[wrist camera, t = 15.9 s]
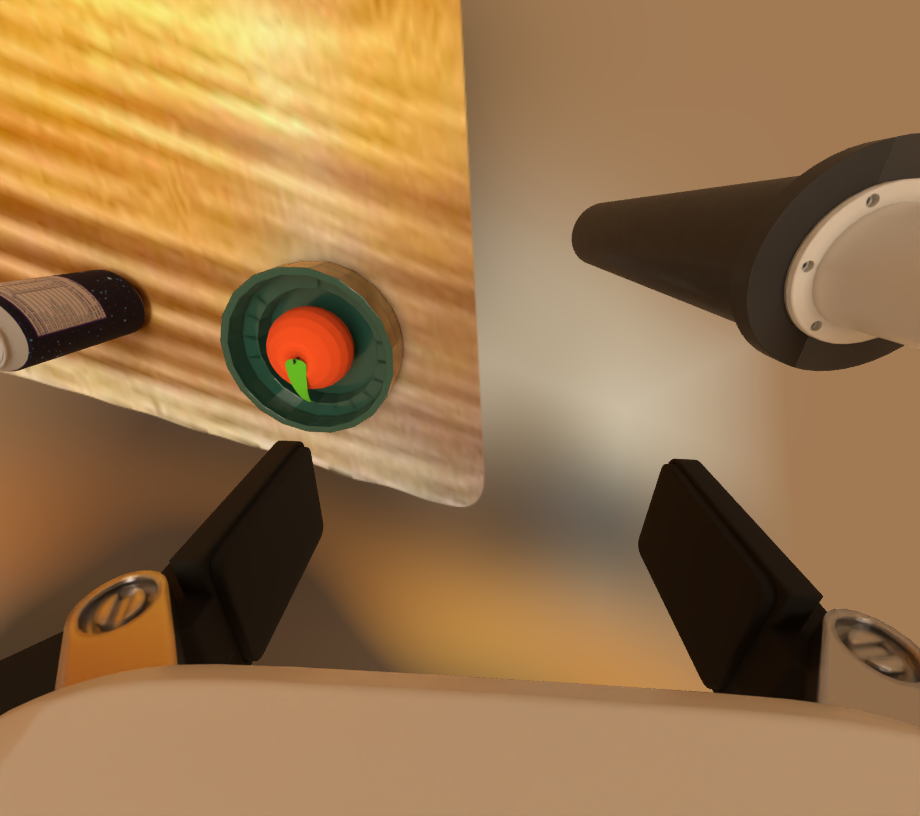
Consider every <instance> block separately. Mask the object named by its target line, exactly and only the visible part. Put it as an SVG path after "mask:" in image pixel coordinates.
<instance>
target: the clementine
mask: <svg viewBox="0 0 920 816" xmlns="http://www.w3.org/2000/svg"><path fill="white" fill-rule="evenodd" d="M266 349H267V355H268V358H269V361H270V363H271V365H272V367H273V368H274V370H275V371H276V372H277V373H278V374H279V375H280V376H281V377H282V378H283V379H284V380H286V381H287V382H289V383H290V384H292V386H293V387H294V389H295V390H296V392H297V393H298V394H299V395H300V397H301V398H302V399H304V400H306V401H308V402H315V401H311V400H310V398H309V395H308V390H307V389H319V388H325V387H328V386H331V385H333V384H334V383H336V382H337V381H339V380H340V379H341V378H343V377H344V376H345V375H346V373H347V372H348V370H349V369H350V367H351V364H352V361H353V358H354V350H355V346H354V342H353V337H352V335H351V333H350V331H349V329H348V327H347V326H346V325H345V323H344V322H343V321H342V320H341V319H340V318H339V317H337V316H336V315H335V314H333V313H332V312H330V311H328V310H325V309H323V308H320V307H315V306H303V307H296V308H293V309H291V310H288V311H286V312H285V313H283V314H282V315H281V316H280V317H279V318H278V319H276V320H275V321H274V323H273V324H272V326H271V328H270V329H269V333H268V337H267V342H266Z"/></svg>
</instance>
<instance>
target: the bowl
mask: <svg viewBox="0 0 920 816" xmlns="http://www.w3.org/2000/svg"><path fill="white" fill-rule="evenodd" d="M303 306H315V307H320V308H323V309H325V310H328V311H330V312H332V313H333V314H335V315H336V316H337V317H339V318H340V319H341V320H342V321H343V322H344V323H345V325H346V326H347V327H348V329H349V331H350V333H351V335H352V337H353V342H354V346H355V350H354V358H353V361H352V364H351V367H350V369H349V370H348V372H347V373H346V375H345V376H344V377H343V378H341V379H340V380H339V381H337V382H336V383H334V384H333V385H331V386H328V387H325V388H319V389H307V390H308V395H309V398H310V400H311V401H315V402H308V401H306V400H304V399H302V398H301V397H300V395H299V394H298V393H297V392H296V390H295V389H294V387H293V386H292V384H290V383H289V382H287V381H286V380H284V379H283V378H282V377H281V376H280V375H279V374H278V373H277V372H276V371H275V370H274V368H273V367H272V365H271V363H270V361H269V358H268V355H267V349H266V342H267V337H268V333H269V329H270V328H271V326H272V324H273V323H274V321H275V320H276V319H278V318H279V317H280V316H281V315H282V314H283V313H285V312H286V311H288V310H291V309H293V308H296V307H303ZM220 341H221V346H222V350H223V353H224V357H225V361H226V365H227V368H228V370H229V371H230V373H231V375H232V376H233V378H234V380H235V382H236V383H237V385H238V387H239V388H240V390H241V391H242V392H243V393H244V394H245V395H246V396H247V397H248V398H249V399H250V400H251V401H252V402H253V403H254V404H255V405H256V406H257V407H258V408H259V409H260V410H261V411H263V412H264V413H266V414H268V415H269V416H271V417H273V418H274V419H276V420H277V421H279V422H281V423H282V424H285V425H289V426H292V427H295V428H298V429H301V430H304V431H310V432H336V431H340V430H344V429H348V428H352V427H355V426H357V425H358V424H360V423H361V422H363V421H364V420H366V419H367V418H369V417H371V416H372V415H373V414H374V413H375V412H376V411H377V409H378V408H379V407H380V405H381V404H382V403H383V401H384V400H385V399H386V397H387V395H388V394H389V392H390V390H391V388H392V386H393V384H394V382H395V380H396V378H397V375H398V371H399V368H400V365H401V361H402V358H403V353H402V334H401V331H400V328H399V325H398V323H397V320H396V317H395V314H394V312H393V309H392V308H391V307H390V305H389V304H388V303H387V301H386V300H385V299H384V297H383V296H382V294H381V293H380V292H379V290H378V289H376V287H374V286H373V285H372V284H370V283H369V282H368V281H367V280H365V279H364V278H363V277H361V276H360V275H359V274H357V273H356V272H354V271H352V270H349V269H347V268H344V267H341V266H338V265H336V264H333V263H330V262H318V261H301V262H296V263H292V264H288V265H283V266H279V267H276V268H273V269H270V270H267V271H264V272H261V273H258V274H255V275H253V276H251V277H250V278H249V279H248V280H247V281H246V282H244V283H243V284H242V285H241V286H240V287H239V288H238V289H236V290H235V291H234V292H233V294H232V296H231V298H230V300H229V302H228V304H227V307H226V309H225V311H224V313H223V316H222V324H221V339H220Z"/></svg>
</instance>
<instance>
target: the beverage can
mask: <svg viewBox="0 0 920 816" xmlns="http://www.w3.org/2000/svg"><path fill="white" fill-rule="evenodd" d="M144 318H145V311H144V304H143V301H142V299H141V297H140V295H139V294H138V292H137V291H136V290H135V289H134V288H133V287H132V286H131V285H130V284H129V283H128V282H127V281H126V280H124V279H123V278H121V277H120V276H118V275H116V274H114V273H112V272H109V271H105V270H92V271H84V272H77V273H69V274H62V275H54V276H47V277H39V278H32V279H24V280H17V281H9V282H2V283H0V371H18V370H21V369H24V368H27V367H30V366H33V365H37V364H40V363H43V362H46V361H49V360H52V359H55V358H58V357H61V356H64V355H67V354H70V353H73V352H76V351H79V350H82V349H85V348H88V347H91V346H94V345H97V344H100V343H103V342H106V341H109V340H112V339H115V338H118V337H121V336H124V335H128V334H131V333H133V332H136V331H137V330H139V329H140V328H141V326H142V325H143V322H144Z"/></svg>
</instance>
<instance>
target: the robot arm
mask: <svg viewBox="0 0 920 816" xmlns="http://www.w3.org/2000/svg"><path fill="white" fill-rule="evenodd" d="M784 301H785V306H786V311H787V313H788V315H789V317H790V319H791V321H792V322H793V323H794V325H795V326H796V327H797V328H798V329H799V330H800V331H802V332H803V333H805V334H806V335H808V336H810V337H813V338H815V339H818V340H820V341H824V342H829V343H833V344H851V343H859V342H864V341H867V340H871V339H874V338H878V337H879V338H883V339H886V340H889V341H893V342H896V343H900V344H903V345H906V346H910V347H913V348H917V349H920V178H915V179H900V180H895V181H889V182H883V183H880V184H878V185H875V186H872V187H869V188H866V189H864V190H862V191H860V192H858V193H857V194H855V195H853V196H851V197H849V198H847V199H846V200H845V201H843V202H842V203H840V204H839V205H838V206H836V207H835V208H833V209H832V210H831V211H830V212H829V213H828V214H826V215H825V216H824V217H823V218H822V219H821V220H820V221H819V222H818V223H817V224H816V225H815V226H814V228H813V229H812V230H811V231H810V232H809V234H808V235H807V236H806V237H805V238H804V240H803V242H802V243H801V245H800V246H799V248H798V250H797V251H796V253H795V255H794V257H793V259H792V262H791V264H790V266H789V269H788V272H787V276H786V280H785V287H784ZM322 532H323V519H322V515H321V508H320V502H319V496H318V491H317V485H316V479H315V473H314V468H313V462H312V456H311V451H310V449H309V448H308V447H304V444H303V443H302V442H300V441H278V442H276V443H275V444H274V445H273V447H272V448H271V449H270V450H269V451H268V452H267V453H266V454H265V456H264V457H263V458H262V459H261V460H260V461H259V462H258V463H257V464H256V465H255V466H254V468H253V469H252V470H251V471H250V472H249V473H248V474H247V475H246V476H245V478H244V479H243V480H242V481H241V482H240V483H239V484H238V485H237V487H235V489H234V490H233V491H232V492H231V493H230V494H229V495H228V496H227V497H226V499H225V500H224V501H223V502H222V503H221V504H220V505H219V506H218V507H217V509H216V510H215V511H214V512H213V513H212V514H211V515H210V516H209V518H208V519H207V520H206V521H205V522H204V523H203V524H202V525H201V526H200V527H199V528H198V530H197V531H196V532H195V533H194V534H193V535H192V536H191V537H190V538H189V539H188V541H187V542H186V543H185V544H184V545H183V546H182V547H181V549H179V551H178V552H177V553H176V554H175V555H174V556H173V557H172V558H171V560H170V563H169V565H168V566H167V567H166V568H165V569H164V570H163V571H162V572H161V573H159V572H156V571H149V570H145V571H137V572H132V573H129V574H126V575H122V576H119V577H117V578H115V579H113V580H111V581H109V582H107V583H105V584H103V585H102V586H100V587H98V588H97V589H95V590H94V591H92V592H91V593H89V594H88V595H87V596H86V597H85V598H84V599H83V600H82V601H80V602H79V603H78V604H77V605H76V607H75V608H74V609H73V611H72V612H71V613H70V614H69V616H68V619H67V621H66V624H65V627H64V631H63V632H61V633H59V634H56V635H54V636H52V637H50V638H48V639H46V640H44V641H42V642H39V643H37V644H35V645H33V646H31V647H29V648H26V649H24V650H22V651H20V652H18V653H16V654H14V655H12V656H9V657H7V658H5V659H3V660H1V661H0V816H920V648H919V647H918V646H917V645H915V644H914V643H913V642H912V641H911V640H910V639H908V638H907V637H906V636H904V635H903V634H901V633H900V632H898V631H897V630H896V629H894V628H892V627H891V626H889V625H887V624H885V623H883V622H881V621H880V620H878V619H876V618H873V617H871V616H868V615H865V614H863V613H861V612H857V611H853V610H848V609H833V610H831V611H829V612H827V611H825V609H824V608H823V607H822V606H821V604H820V603H819V602H820V600H821V599H822V597H823V596H822V594H821V593H820V592H819V591H818V590H817V589H816V588H815V587H814V586H813V585H812V584H811V582H810V581H809V580H808V579H807V578H806V577H805V576H804V575H803V574H802V573H801V572H800V571H799V569H798V568H797V567H796V566H795V565H794V564H793V563H792V562H791V561H790V560H789V559H788V557H787V556H786V555H785V554H784V553H783V552H782V551H781V550H780V549H779V548H778V547H777V546H776V544H775V543H774V542H773V541H772V540H771V539H770V538H769V537H768V536H767V535H766V533H764V531H763V530H762V529H761V528H760V527H759V526H758V525H757V524H756V523H755V522H754V520H753V519H752V518H751V517H750V516H749V515H748V514H747V513H746V512H745V511H744V510H743V508H742V507H741V506H740V505H739V504H738V503H737V502H736V501H735V500H734V499H733V497H732V496H731V495H730V494H729V493H728V492H727V491H726V490H725V489H724V488H723V487H722V486H721V484H720V483H719V482H718V481H717V480H716V479H715V478H714V477H713V476H712V475H711V473H709V471H708V470H707V469H706V468H705V467H704V466H703V465H702V464H701V463H700V462H699V461H698V460H689V459H672V460H671V461H670V462H669V464H665V465H663V467H662V469H661V472H660V475H659V478H658V481H657V484H656V487H655V490H654V493H653V496H652V500H651V503H650V506H649V509H648V512H647V515H646V518H645V521H644V525H643V528H642V531H641V534H640V537H639V541H638V547H639V552H640V555H641V557H642V559H643V561H644V563H645V565H646V567H647V569H648V571H649V573H650V575H651V577H652V579H653V581H654V584H655V586H656V587H657V590H658V592H659V594H660V596H661V598H662V600H663V602H664V604H665V606H666V608H667V610H668V612H669V614H670V617H671V619H672V620H673V623H674V625H675V627H676V629H677V631H678V633H679V635H680V637H681V639H682V641H683V643H684V645H685V647H686V649H687V651H688V654H689V656H690V658H691V660H692V661H693V664H694V666H695V668H696V670H697V672H698V674H699V676H700V678H701V680H702V682H703V683H704V685H705V686H706V687H707V688H709V689H712V690H713V692H714V693H711V692H697V691H682V690H666V689H651V688H637V687H623V686H622V687H621V686H608V685H607V686H606V685H593V684H578V683H560V682H545V681H529V680H513V679H497V678H480V677H464V676H447V675H446V676H445V675H430V674H413V673H395V672H376V671H359V670H341V669H323V668H304V667H279V666H254V665H251V664H252V662H253V661H258V660H259V659H260V658H261V657H262V655H263V654H264V652H265V650H266V648H267V646H268V643H269V642H270V639H271V637H272V635H273V633H274V631H275V629H276V627H277V625H278V623H279V621H280V619H281V617H282V615H283V613H284V611H285V609H286V607H287V605H288V603H289V601H290V599H291V597H292V595H293V593H294V591H295V589H296V587H297V585H298V583H299V581H300V579H301V577H302V575H303V573H304V571H305V568H306V567H307V565H308V562H309V560H310V558H311V556H312V554H313V552H314V550H315V548H316V546H317V544H318V542H319V540H320V538H321V536H322Z"/></svg>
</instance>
